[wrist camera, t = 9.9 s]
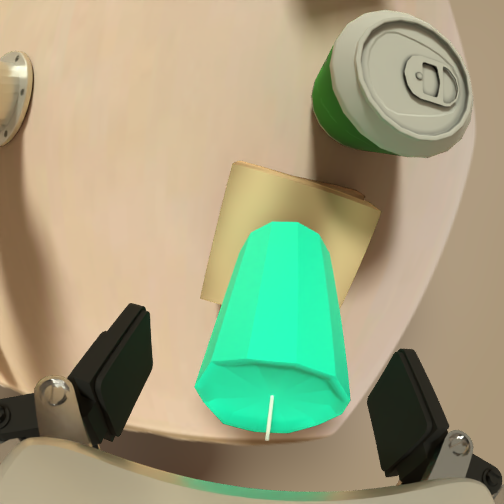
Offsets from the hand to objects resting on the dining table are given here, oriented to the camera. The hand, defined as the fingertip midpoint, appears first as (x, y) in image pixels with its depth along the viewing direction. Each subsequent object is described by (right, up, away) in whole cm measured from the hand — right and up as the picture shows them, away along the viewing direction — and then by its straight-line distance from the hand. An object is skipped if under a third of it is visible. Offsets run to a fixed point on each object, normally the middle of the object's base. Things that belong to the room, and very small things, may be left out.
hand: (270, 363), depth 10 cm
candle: (+1, +3, +9) cm, 10 cm away
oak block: (+2, +5, +12) cm, 13 cm away
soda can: (+8, +16, +10) cm, 20 cm away
